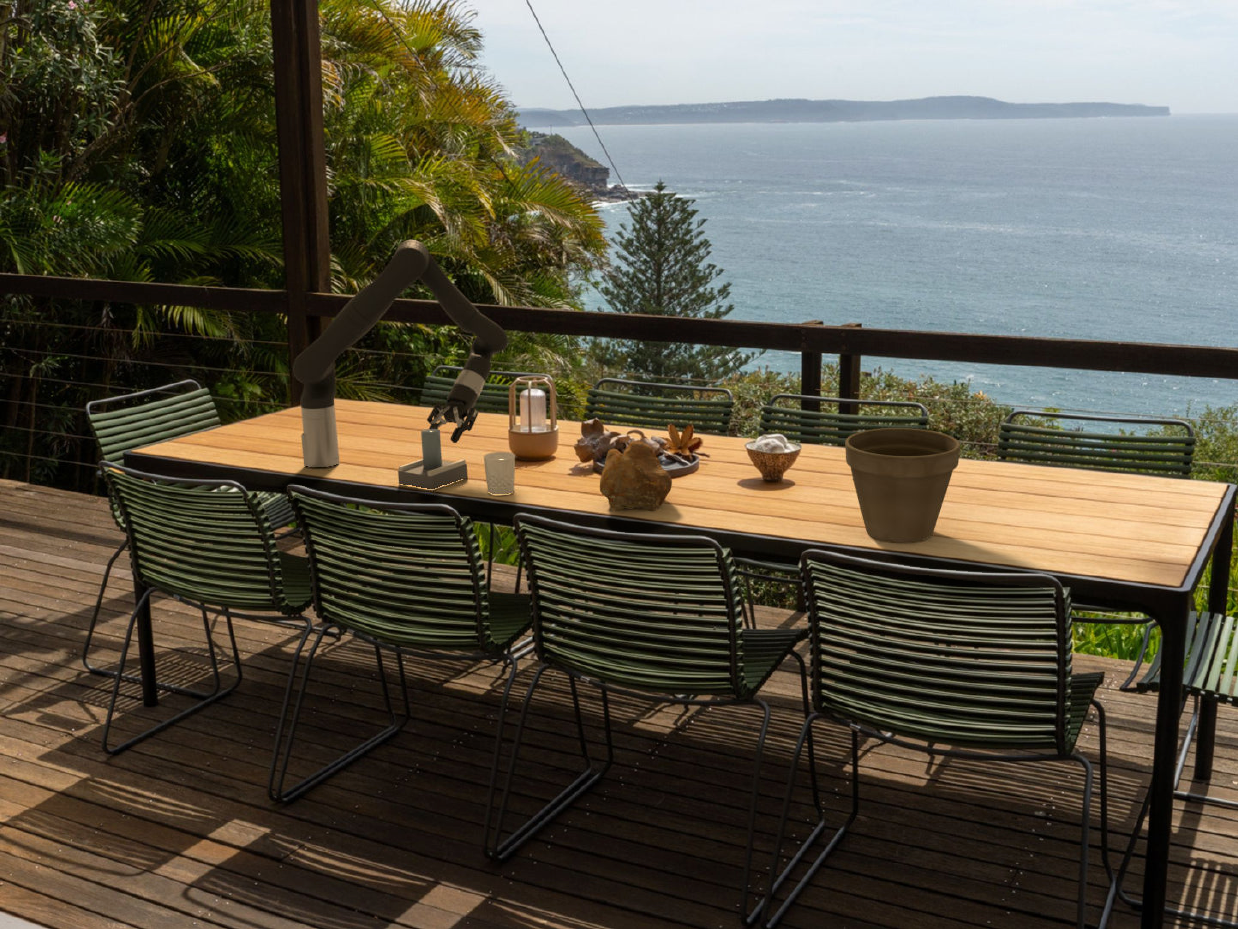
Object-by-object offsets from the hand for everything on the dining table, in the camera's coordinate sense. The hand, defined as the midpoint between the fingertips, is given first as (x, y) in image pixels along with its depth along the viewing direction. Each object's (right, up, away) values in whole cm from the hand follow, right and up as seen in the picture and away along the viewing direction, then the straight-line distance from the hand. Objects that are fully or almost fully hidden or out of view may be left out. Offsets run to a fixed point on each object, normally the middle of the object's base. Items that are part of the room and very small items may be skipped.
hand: (441, 439), depth 322 cm
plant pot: (+111, -22, -52) cm, 125 cm away
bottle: (-2, -7, -1) cm, 8 cm away
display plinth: (-2, -11, 0) cm, 11 cm away
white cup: (+17, -14, -12) cm, 26 cm away
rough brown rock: (+53, -17, -25) cm, 61 cm away
